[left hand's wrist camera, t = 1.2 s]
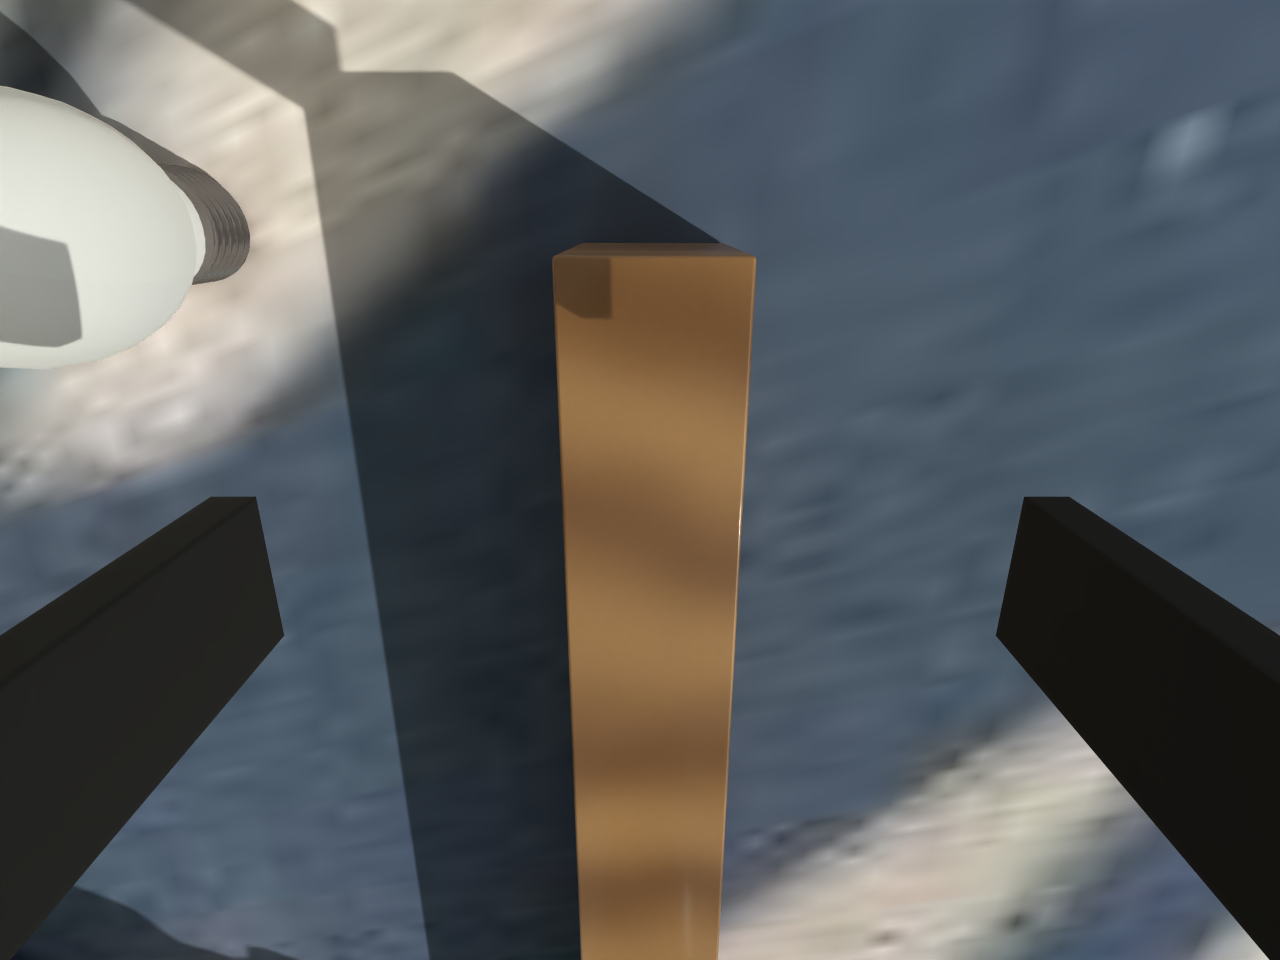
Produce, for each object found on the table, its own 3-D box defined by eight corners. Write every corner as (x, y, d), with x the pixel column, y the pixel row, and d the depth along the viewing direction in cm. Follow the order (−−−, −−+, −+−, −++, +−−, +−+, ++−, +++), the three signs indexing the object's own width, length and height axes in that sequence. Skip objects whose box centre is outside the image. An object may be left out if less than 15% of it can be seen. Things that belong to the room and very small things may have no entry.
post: (580, 242, 25) (551, 255, 17) (724, 242, 25) (757, 255, 17) (606, 1195, 45) (598, 1390, 37) (686, 1196, 45) (694, 1391, 37)
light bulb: (301, 163, 24) (37, 125, 13) (269, 354, 26) (21, 447, 16) (93, 87, 23) (-356, -15, 13) (79, 290, 25) (-313, 344, 15)
